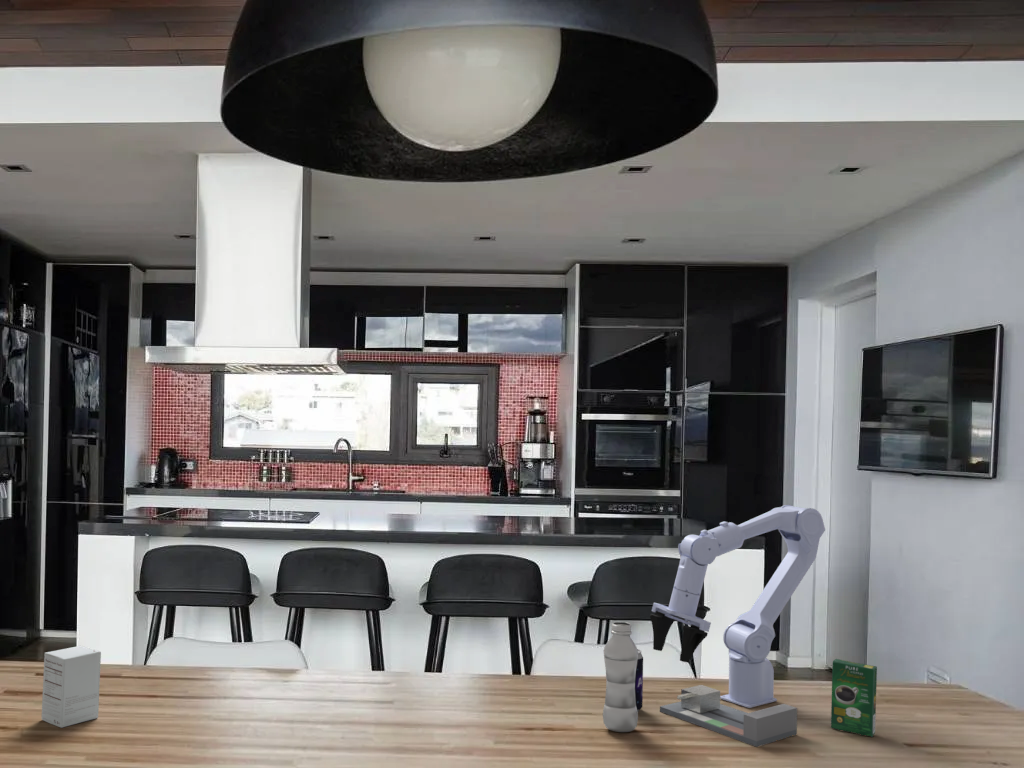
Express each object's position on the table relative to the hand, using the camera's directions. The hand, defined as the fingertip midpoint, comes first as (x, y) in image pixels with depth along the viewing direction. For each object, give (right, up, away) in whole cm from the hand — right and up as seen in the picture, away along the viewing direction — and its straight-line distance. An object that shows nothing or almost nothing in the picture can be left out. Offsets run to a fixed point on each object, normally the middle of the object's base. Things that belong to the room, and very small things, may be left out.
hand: (670, 655), depth 183 cm
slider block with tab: (+4, -9, -6) cm, 11 cm away
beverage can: (-9, -10, -4) cm, 14 cm away
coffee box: (+33, -11, -14) cm, 37 cm away
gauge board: (+9, -10, -10) cm, 17 cm away
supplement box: (-116, -7, -18) cm, 118 cm away
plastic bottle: (-13, -9, -16) cm, 23 cm away
